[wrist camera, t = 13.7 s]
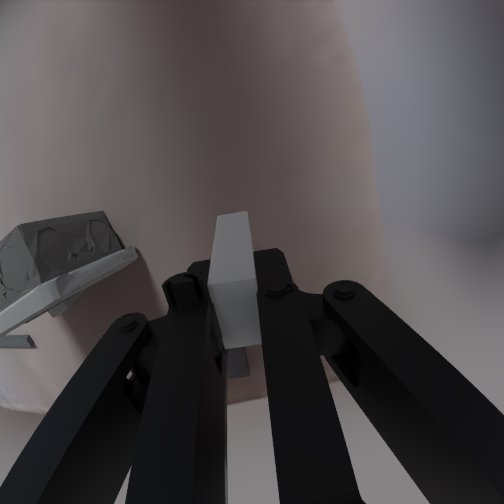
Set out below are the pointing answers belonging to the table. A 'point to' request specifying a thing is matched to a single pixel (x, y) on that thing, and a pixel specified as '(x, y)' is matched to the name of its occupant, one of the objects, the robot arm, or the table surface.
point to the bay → (16, 341)
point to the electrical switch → (55, 265)
